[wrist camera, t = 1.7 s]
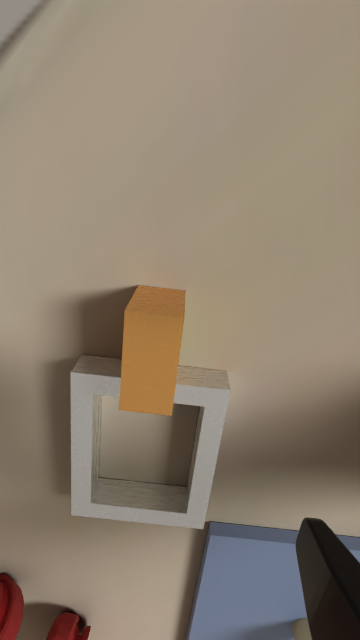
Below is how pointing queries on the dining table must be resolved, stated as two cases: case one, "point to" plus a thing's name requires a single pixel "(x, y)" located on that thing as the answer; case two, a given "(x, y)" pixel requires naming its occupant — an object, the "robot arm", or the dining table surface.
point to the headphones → (7, 611)
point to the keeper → (251, 585)
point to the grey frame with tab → (147, 397)
